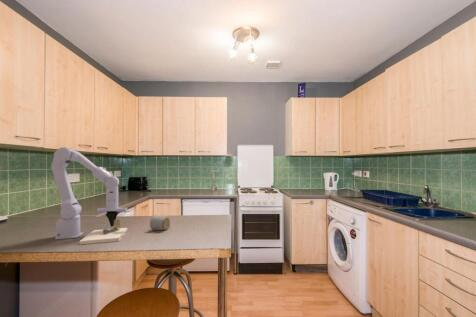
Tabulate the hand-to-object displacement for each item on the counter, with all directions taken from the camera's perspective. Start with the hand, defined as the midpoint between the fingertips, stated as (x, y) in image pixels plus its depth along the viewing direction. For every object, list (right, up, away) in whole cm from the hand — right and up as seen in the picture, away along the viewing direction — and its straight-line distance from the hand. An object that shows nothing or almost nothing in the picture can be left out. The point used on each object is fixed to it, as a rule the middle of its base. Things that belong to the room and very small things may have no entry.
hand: (112, 226), depth 122 cm
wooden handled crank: (+2, -1, -4) cm, 4 cm away
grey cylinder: (+24, -4, +6) cm, 25 cm away
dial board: (0, -3, -7) cm, 8 cm away
